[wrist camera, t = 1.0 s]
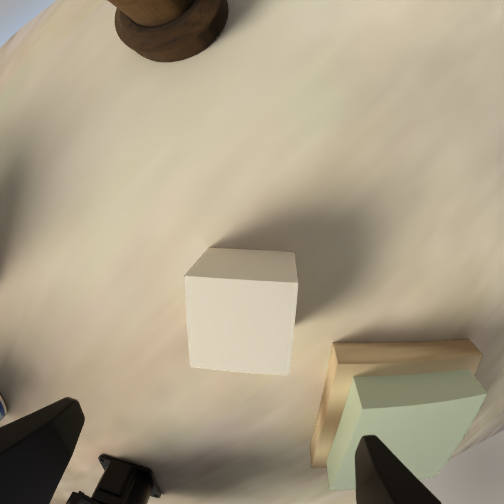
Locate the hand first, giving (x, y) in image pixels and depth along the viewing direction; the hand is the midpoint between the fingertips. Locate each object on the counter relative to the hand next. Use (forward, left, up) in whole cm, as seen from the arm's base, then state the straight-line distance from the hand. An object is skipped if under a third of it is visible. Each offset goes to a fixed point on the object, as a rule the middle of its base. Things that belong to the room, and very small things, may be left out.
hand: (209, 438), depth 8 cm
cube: (0, 0, -12) cm, 12 cm away
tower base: (-9, -11, -12) cm, 19 cm away
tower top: (-9, -11, -9) cm, 17 cm away
